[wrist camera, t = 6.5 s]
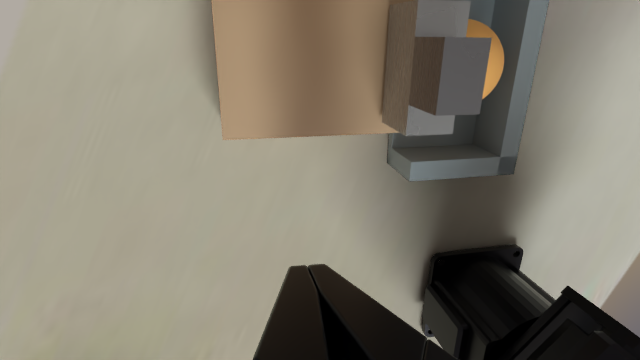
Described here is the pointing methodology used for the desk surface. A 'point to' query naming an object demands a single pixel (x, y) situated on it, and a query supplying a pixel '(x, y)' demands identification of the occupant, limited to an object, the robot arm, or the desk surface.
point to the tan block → (301, 67)
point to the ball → (495, 53)
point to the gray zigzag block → (432, 67)
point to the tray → (483, 105)
